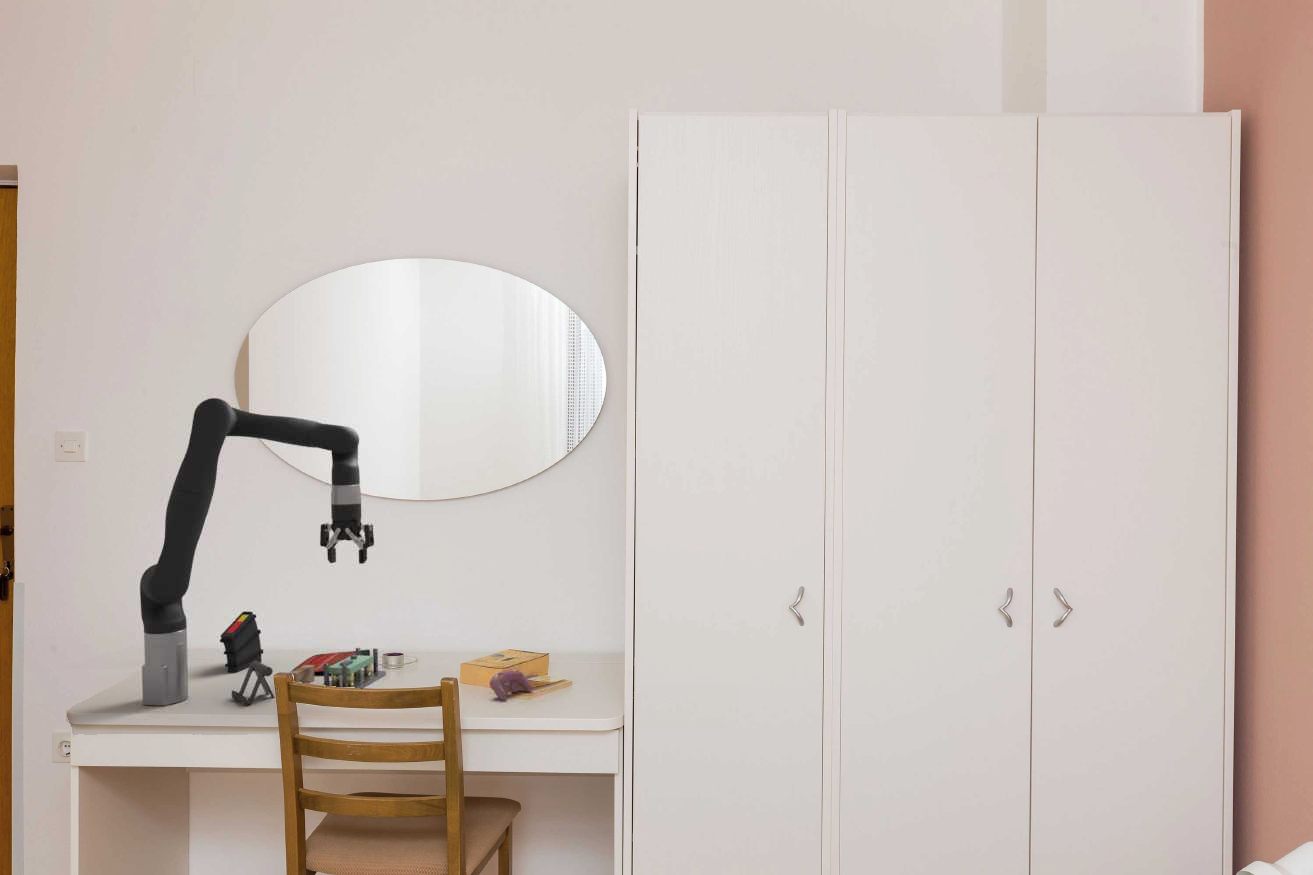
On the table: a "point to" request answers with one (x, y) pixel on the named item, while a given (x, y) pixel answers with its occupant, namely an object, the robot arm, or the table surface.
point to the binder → (328, 660)
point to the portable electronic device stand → (261, 672)
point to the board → (351, 664)
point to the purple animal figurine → (510, 677)
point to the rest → (304, 674)
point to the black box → (242, 642)
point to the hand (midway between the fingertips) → (347, 562)
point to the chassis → (355, 674)
